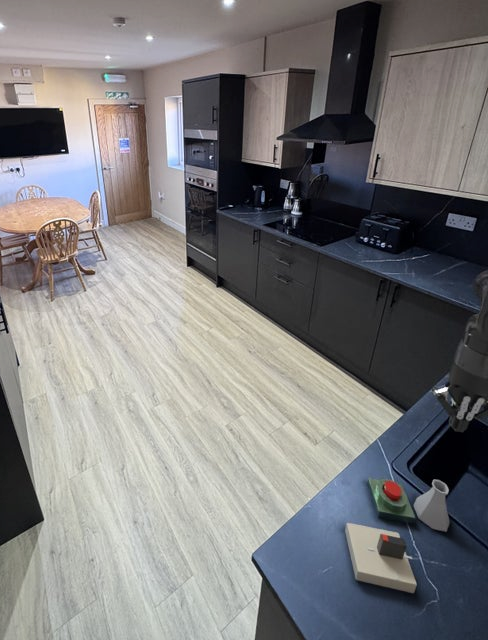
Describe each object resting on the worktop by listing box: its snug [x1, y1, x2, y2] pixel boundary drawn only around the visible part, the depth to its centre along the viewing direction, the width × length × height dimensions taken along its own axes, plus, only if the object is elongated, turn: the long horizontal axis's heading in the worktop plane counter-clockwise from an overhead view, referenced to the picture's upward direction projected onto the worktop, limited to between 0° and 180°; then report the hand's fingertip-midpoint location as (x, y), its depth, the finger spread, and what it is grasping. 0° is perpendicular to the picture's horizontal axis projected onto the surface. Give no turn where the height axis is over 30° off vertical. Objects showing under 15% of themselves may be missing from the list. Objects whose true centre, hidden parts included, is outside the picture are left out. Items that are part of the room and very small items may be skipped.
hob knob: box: [377, 534, 407, 559], centre depth 69 cm, size 5×1×5 cm, turn 78°
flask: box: [413, 479, 451, 533], centre depth 77 cm, size 7×7×10 cm
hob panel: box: [344, 522, 418, 594], centre depth 70 cm, size 12×9×3 cm
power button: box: [384, 480, 402, 501], centre depth 80 cm, size 4×4×2 cm
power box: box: [366, 477, 416, 525], centre depth 81 cm, size 8×8×4 cm
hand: (456, 428), depth 71 cm, fingers closed
